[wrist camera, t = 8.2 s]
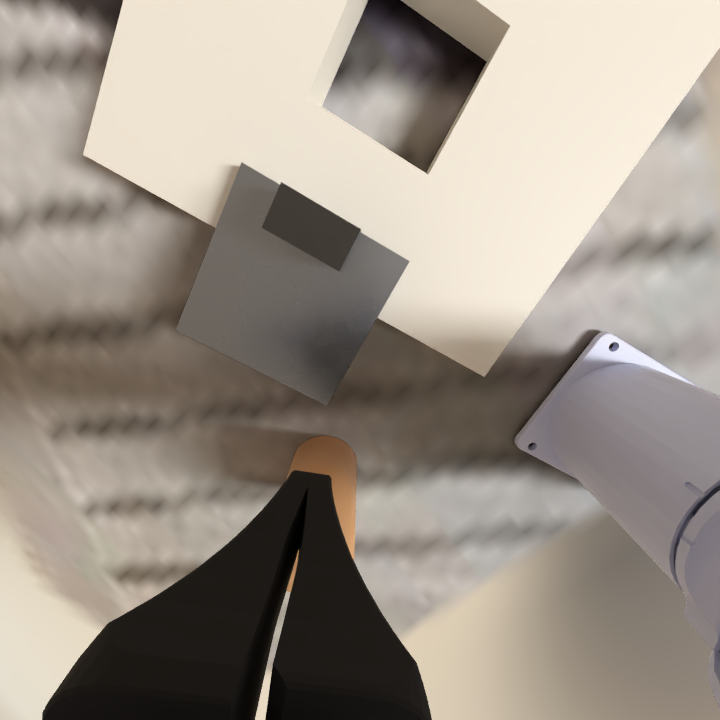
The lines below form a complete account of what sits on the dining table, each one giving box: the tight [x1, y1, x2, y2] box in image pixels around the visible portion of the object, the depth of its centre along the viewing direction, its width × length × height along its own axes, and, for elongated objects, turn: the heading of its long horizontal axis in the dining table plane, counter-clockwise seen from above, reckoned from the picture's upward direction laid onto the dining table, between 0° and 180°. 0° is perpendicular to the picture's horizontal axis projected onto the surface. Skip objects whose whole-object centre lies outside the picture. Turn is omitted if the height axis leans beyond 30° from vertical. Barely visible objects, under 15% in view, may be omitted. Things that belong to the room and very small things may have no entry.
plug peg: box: [286, 436, 357, 592], centre depth 17 cm, size 4×4×8 cm
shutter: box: [176, 162, 410, 406], centre depth 14 cm, size 8×8×3 cm
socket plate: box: [83, 0, 720, 377], centre depth 14 cm, size 20×18×2 cm
